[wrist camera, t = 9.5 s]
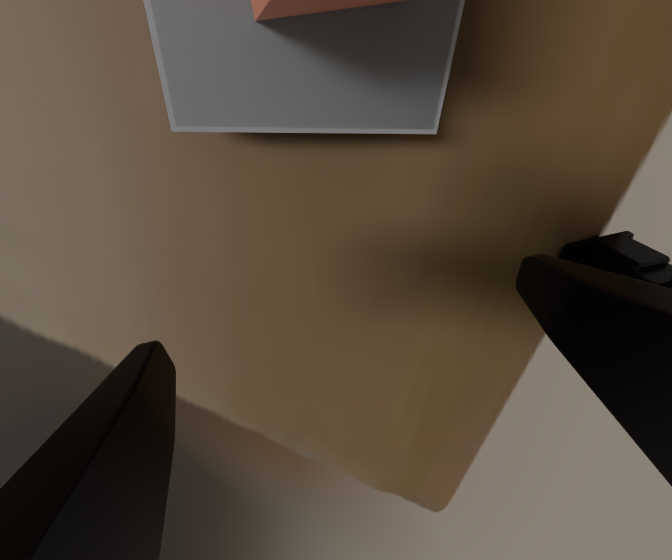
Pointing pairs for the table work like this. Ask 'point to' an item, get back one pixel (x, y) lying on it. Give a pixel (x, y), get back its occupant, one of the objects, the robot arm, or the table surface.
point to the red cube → (305, 7)
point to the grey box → (304, 66)
